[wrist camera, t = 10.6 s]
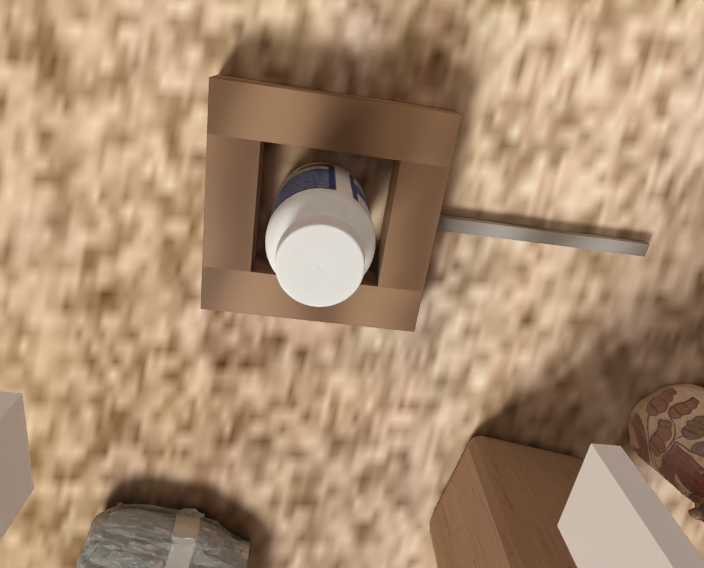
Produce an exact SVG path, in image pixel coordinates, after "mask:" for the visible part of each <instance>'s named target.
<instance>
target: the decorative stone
mask: <svg viewBox="0 0 704 568" xmlns="http://www.w3.org/2000/svg"><path fill="white" fill-rule="evenodd" d="M234 534H235V532H234ZM234 534H232V533H231V532H229V531H227V529H225V528H224V527H223V526H222V525H220V524H219V522H218V521H217V520H213V519H208V518H206V517H205V516H204V513H201V512H199V511H197V509H191V508H184V509H180V510H179V509H170V508H165V507H160V506H156V505H148V504H147V505H144V504H124V503H122V502H119V503H118V502H117V505H116V506H114V507H112V508H109V509H107V510H105V511H104V512H102V513H100V514H98V515H97V516H96V517H95V518H94V520H93V522H92V523H91V528H90V531H89V533H88V536H87V539H86V542H85V545H84V547H83V549H82V551H81V553H80V556H79V558H78V561H77V566H76V568H247V563H248V556H249V548H250V541H249V542H248V541H247V540H244V538H243V539H242V538H241V537H240V536H239V537H238V536H236V535H234ZM235 536H236V537H235Z"/></svg>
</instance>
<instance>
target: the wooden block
mask: <svg viewBox="0 0 704 568" xmlns="http://www.w3.org/2000/svg"><path fill="white" fill-rule="evenodd" d="M583 462H584V461H583V460H582V459H580V458H578V457H575V456H570V455H566V454H561V453H557V452H552V451H548V450H544V449H539V448H535V447H530V446H526V445H522V444H517V443H513V442H508V441H504V440H499V439H495V438H491V437H486V436H474V437H473V438H472V439H471V440H470V441H469V443H468V445H467V447H466V449H465V451H464V453H463V455H462V457H461V459H460V461H459V463H458V465H457V467H456V469H455V471H454V473H453V475H452V477H451V479H450V481H449V483H448V485H447V487H446V489H445V491H444V493H443V495H442V497H441V499H440V501H439V503H438V505H437V507H436V509H435V511H434V513H433V515H432V517H431V521H430V534H431V538H432V543H433V548H434V553H435V557H436V562H437V567H438V568H577V566H576V564H575V562H574V560H573V557H572V555H571V553H570V551H569V549H568V547H567V545H566V543H565V541H564V539H563V537H562V535H561V532H560V530H559V528H558V526H557V525H558V523H559V520H560V518H561V515H562V513H563V510H564V508H565V505H566V503H567V501H568V498H569V496H570V493H571V491H572V488H573V486H574V484H575V481H576V479H577V476H578V474H579V471H580V469H581V467H582V464H583Z"/></svg>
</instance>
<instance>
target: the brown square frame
mask: <svg viewBox="0 0 704 568" xmlns="http://www.w3.org/2000/svg"><path fill="white" fill-rule="evenodd" d="M461 117H462V115H460V114H458V113H457V112H455V111H453V110H449V109H443V108H436V107H430V106H423V105H416V104H410V103H403V102H397V101H390V100H383V99H377V98H370V97H363V96H357V95H350V94H344V93H337V92H330V91H324V90H317V89H310V88H304V87H297V86H291V85H284V84H277V83H271V82H264V81H258V80H251V79H244V78H238V77H231V76H224V75H215V76H212V77H209V95H208V123H207V150H206V178H205V205H204V233H203V260H202V288H201V309H208V310H218V311H227V312H236V313H245V314H255V315H264V316H273V317H282V318H292V319H301V320H310V321H319V322H329V323H338V324H347V325H356V326H366V327H375V328H384V329H394V330H403V331H412V332H414V330H415V326H416V321H417V317H418V312H419V308H420V303H421V299H422V294H423V290H424V285H425V280H426V276H427V271H428V267H429V262H430V258H431V253H432V249H433V244H434V240H435V235H436V231H437V230H442V231H450V232H458V233H465V234H473V235H481V236H489V237H497V238H505V239H512V240H520V241H528V242H536V243H544V244H552V245H559V246H567V247H575V248H583V249H591V250H598V251H606V252H614V253H622V254H630V255H638V256H645V254H646V252H647V249H648V247H649V244H648V243H646V242H645V241H638V240H630V239H623V238H615V237H607V236H600V235H592V234H584V233H577V232H569V231H561V230H554V229H546V228H538V227H531V226H523V225H516V224H508V223H500V222H493V221H485V220H477V219H470V218H462V217H454V216H447V215H440V213H441V208H442V203H443V199H444V194H445V190H446V185H447V181H448V176H449V172H450V167H451V163H452V158H453V154H454V149H455V145H456V140H457V135H458V131H459V126H460V122H461ZM265 142H270V143H278V144H285V145H292V146H299V147H306V148H313V149H320V150H328V151H335V152H342V153H349V154H356V155H363V156H370V157H378V158H385V159H392V160H394V162H393V168H392V173H391V179H390V185H389V190H388V196H387V202H386V207H385V213H384V218H383V224H382V230H381V235H380V241H379V247H378V252H377V258H376V264H375V269H374V270H367V272H366V273H365V274H364V276H363V279H362V281H361V283H360V285H359V287H358V288H357V290H356V291H355V292H354V293H353V294H352V295H351V296H349V297H348V298H347V299H345V300H344V301H342V302H340V303H337V304H334V305H331V306H324V307H315V306H309V305H305V304H303V303H300V302H298V301H296V300H295V299H293V298H292V297H291V296H289V295H288V294H287V293H286V292H285V291H284V290H283V288H282V287H281V285H280V283H279V281H278V279H277V276H276V273H275V272H274V270H273V269H272V267H271V265H270V263H269V260H268V258H267V257H259V256H256V245H257V232H258V220H259V207H260V194H261V182H262V169H263V156H264V144H265Z"/></svg>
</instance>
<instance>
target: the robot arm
mask: <svg viewBox="0 0 704 568" xmlns="http://www.w3.org/2000/svg"><path fill="white" fill-rule="evenodd" d="M33 489H34V485H33V477H32V469H31V461H30V452H29V444H28V436H27V428H26V420H25V412H24V404H23V396H22V393H12V392H0V540H1V539H2V537H3V536H4V534H5V533H6V531H7V529H8V528H9V526H10V525H11V523H12V522H13V520H14V519H15V517H16V516H17V514H18V513H19V511H20V509H21V508H22V506H23V505H24V503H25V502H26V500H27V499H28V497H29V496H30V494H31V492H32V491H33ZM557 526H558V528H559V530H560V532H561V535H562V537H563V539H564V541H565V543H566V545H567V547H568V549H569V551H570V553H571V555H572V557H573V560H574V562H575V564H576V566H577V568H704V559H703V558H702V557H701V555H700V554H699V552H698V551H697V550H696V548H695V547H694V546H693V544H692V543H691V541H690V540H689V539H688V537H687V536H686V535H685V533H684V532H683V531H682V529H681V528H680V526H679V525H678V524H677V522H676V521H675V520H674V518H673V517H672V515H671V514H670V513H669V511H668V510H667V509H666V507H665V506H664V505H663V503H662V502H661V500H660V499H659V498H658V496H657V495H656V494H655V492H654V491H653V489H652V488H651V487H650V485H649V484H648V483H647V481H646V480H645V478H644V477H643V476H642V474H641V473H640V472H639V470H638V469H637V468H636V466H635V465H634V463H633V462H632V461H631V459H630V458H629V457H628V455H627V454H626V452H625V451H624V450H623V448H622V447H621V446H616V445H605V444H593V443H591V445H590V447H589V450H588V452H587V454H586V457H585V459H584V462H583V464H582V467H581V469H580V471H579V474H578V476H577V479H576V481H575V484H574V486H573V488H572V491H571V493H570V496H569V498H568V501H567V503H566V505H565V508H564V510H563V513H562V515H561V518H560V520H559V523H558V525H557Z"/></svg>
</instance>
